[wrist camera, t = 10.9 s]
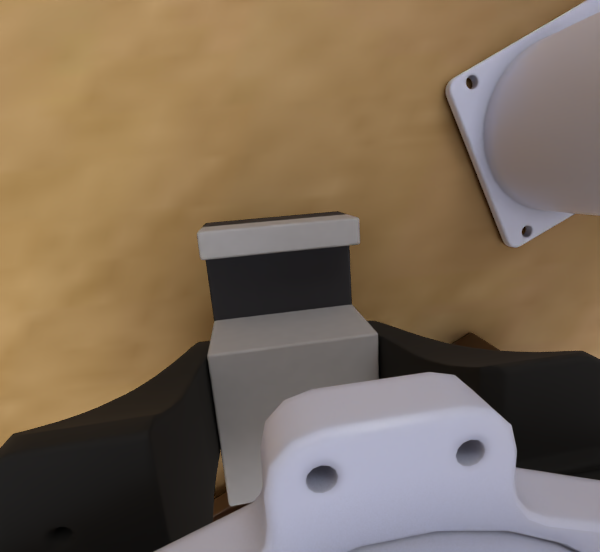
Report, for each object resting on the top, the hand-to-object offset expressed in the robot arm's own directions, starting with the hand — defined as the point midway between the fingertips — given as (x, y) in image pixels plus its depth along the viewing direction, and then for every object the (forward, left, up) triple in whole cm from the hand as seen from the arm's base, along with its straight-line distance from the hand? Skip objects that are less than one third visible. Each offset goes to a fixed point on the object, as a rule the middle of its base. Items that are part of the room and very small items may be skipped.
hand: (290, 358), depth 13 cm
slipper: (0, 0, -1) cm, 2 cm away
